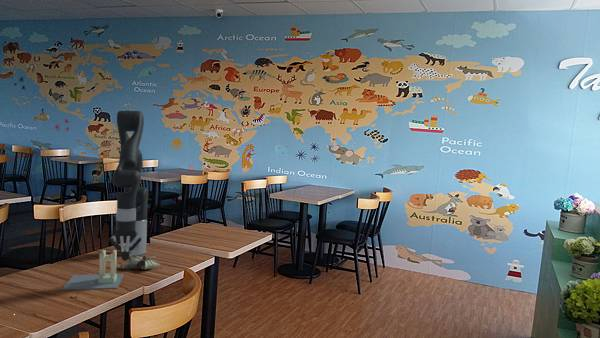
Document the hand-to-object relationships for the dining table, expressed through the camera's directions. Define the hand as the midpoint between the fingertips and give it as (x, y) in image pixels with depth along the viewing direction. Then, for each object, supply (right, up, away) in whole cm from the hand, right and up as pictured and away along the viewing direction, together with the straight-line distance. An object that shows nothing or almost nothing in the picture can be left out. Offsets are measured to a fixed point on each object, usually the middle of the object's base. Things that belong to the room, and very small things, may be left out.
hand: (125, 260), depth 183 cm
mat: (-12, -9, -2) cm, 15 cm away
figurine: (0, -8, +19) cm, 20 cm away
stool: (-7, -8, -1) cm, 11 cm away
